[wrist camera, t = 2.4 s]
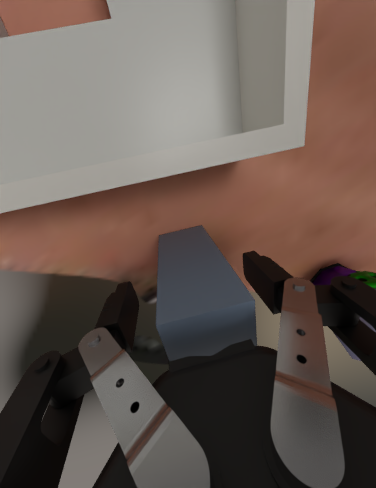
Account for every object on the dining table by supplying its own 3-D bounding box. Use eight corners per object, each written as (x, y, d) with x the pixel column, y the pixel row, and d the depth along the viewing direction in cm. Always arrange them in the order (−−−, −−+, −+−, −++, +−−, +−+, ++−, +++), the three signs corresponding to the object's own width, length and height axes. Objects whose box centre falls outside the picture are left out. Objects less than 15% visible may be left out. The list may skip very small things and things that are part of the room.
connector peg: (201, 225, 16) (254, 299, 7) (208, 262, 18) (257, 361, 9) (158, 235, 16) (155, 325, 7) (169, 271, 18) (178, 383, 8)
